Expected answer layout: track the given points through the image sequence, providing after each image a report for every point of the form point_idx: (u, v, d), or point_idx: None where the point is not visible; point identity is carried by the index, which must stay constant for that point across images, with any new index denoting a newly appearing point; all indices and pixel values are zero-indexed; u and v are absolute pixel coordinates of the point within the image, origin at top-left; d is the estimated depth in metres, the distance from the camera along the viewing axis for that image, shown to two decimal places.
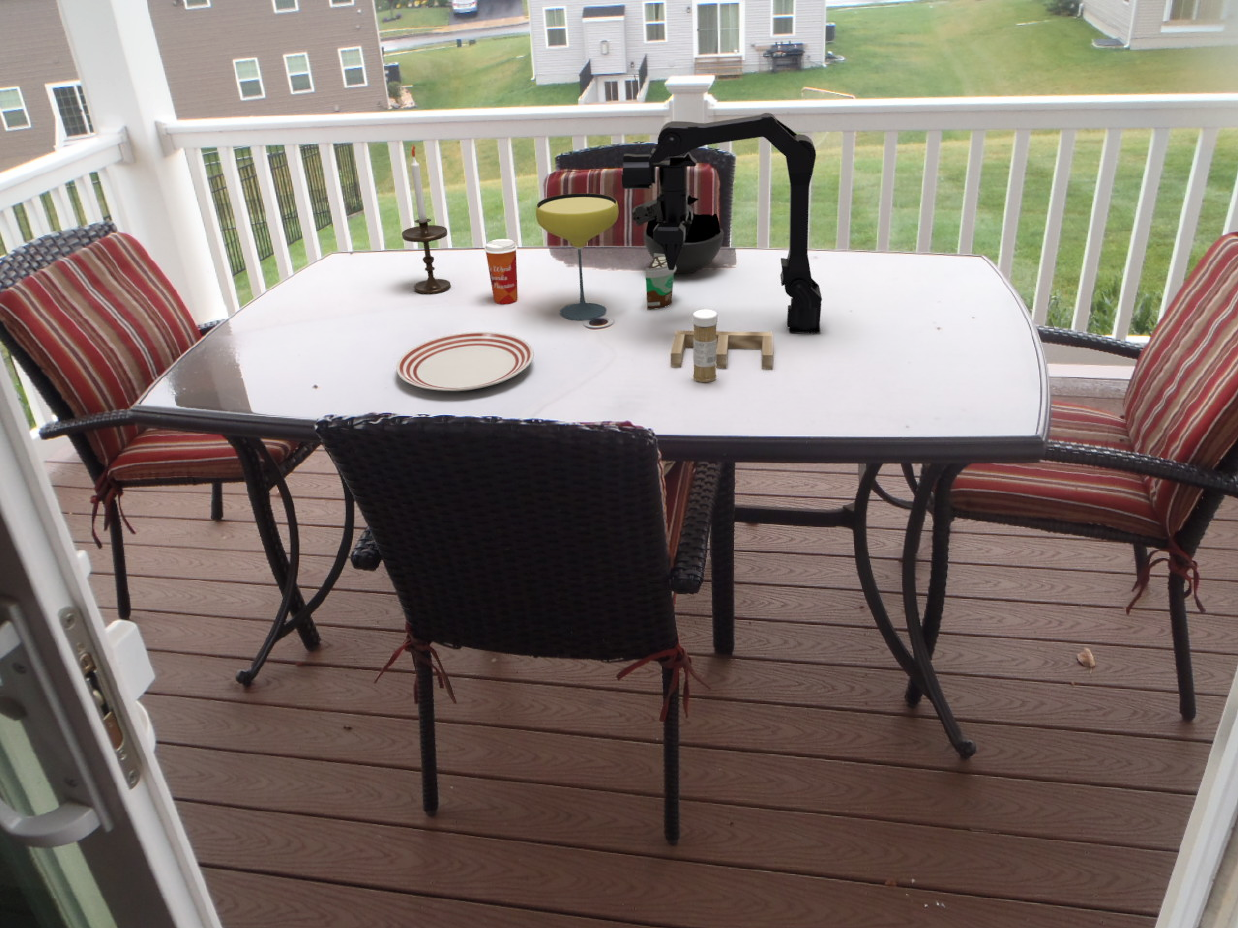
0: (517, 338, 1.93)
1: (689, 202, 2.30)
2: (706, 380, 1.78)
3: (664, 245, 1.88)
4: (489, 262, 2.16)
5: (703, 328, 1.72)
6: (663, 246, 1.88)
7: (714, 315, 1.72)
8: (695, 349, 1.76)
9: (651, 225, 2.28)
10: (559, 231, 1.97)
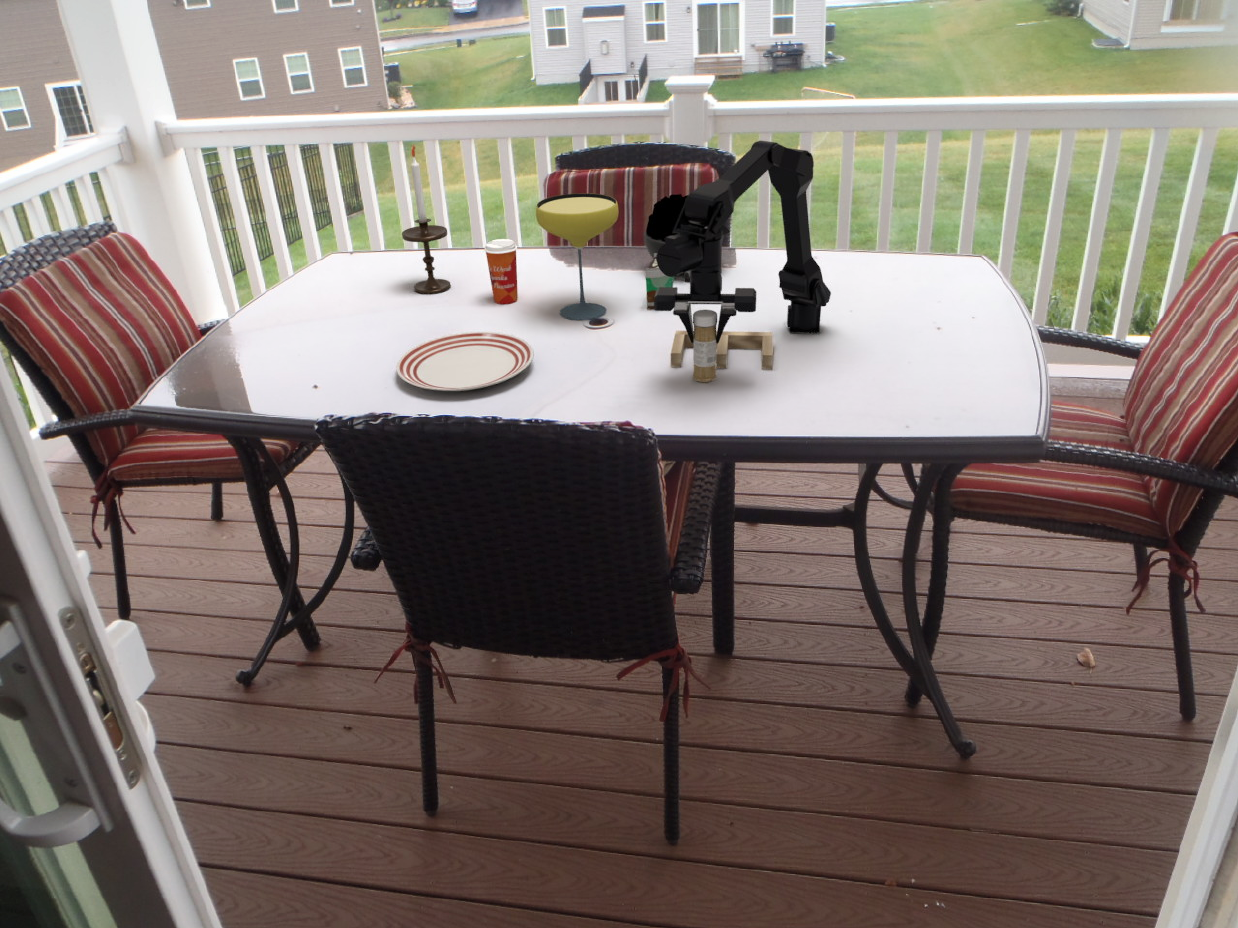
0: (517, 338, 1.93)
1: None
2: (706, 380, 1.78)
3: None
4: (489, 262, 2.16)
5: (703, 328, 1.72)
6: None
7: (714, 315, 1.72)
8: (695, 349, 1.76)
9: (651, 225, 2.28)
10: (559, 231, 1.97)
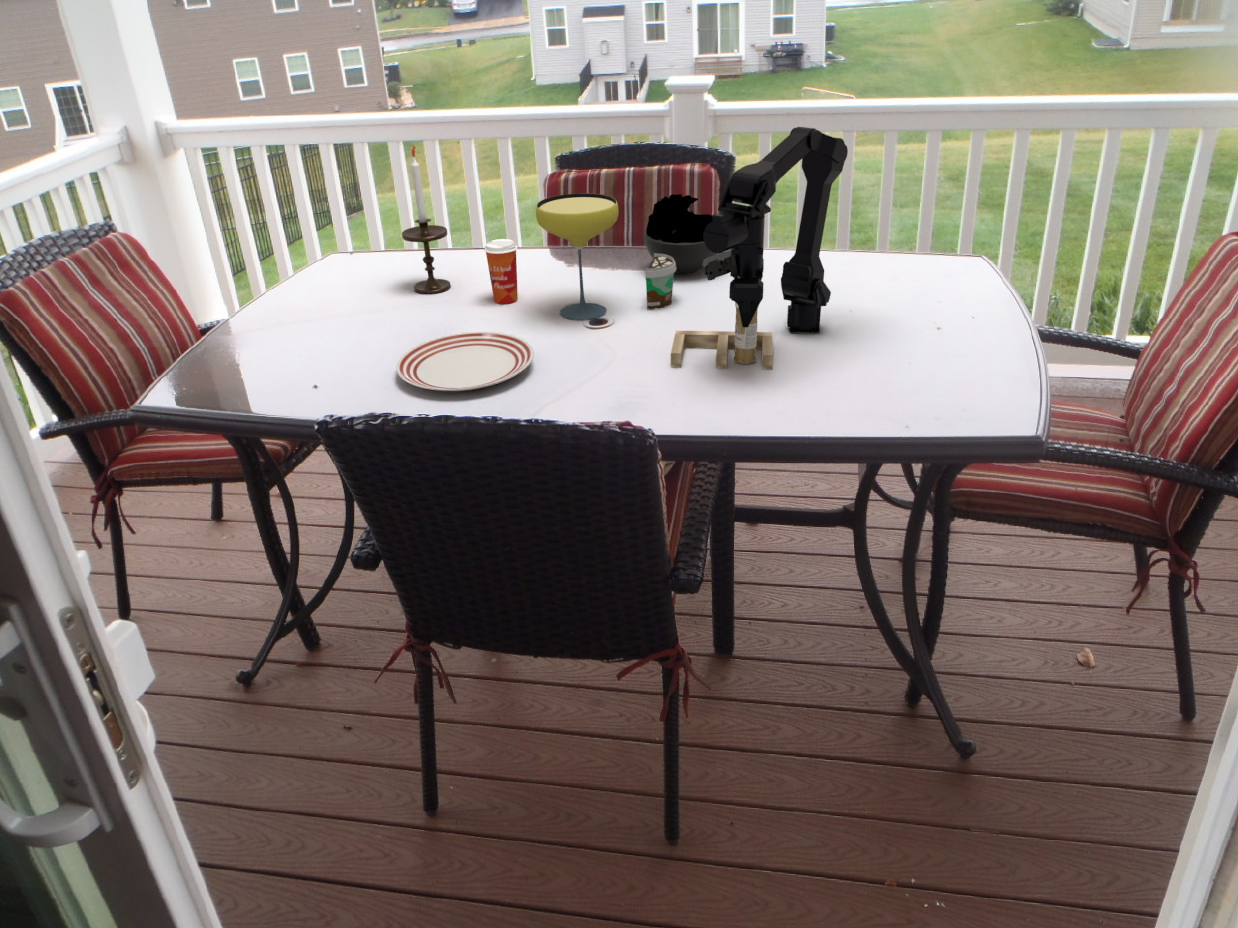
0: (517, 338, 1.93)
1: (689, 202, 2.30)
2: (755, 357, 1.86)
3: (739, 302, 1.74)
4: (489, 262, 2.16)
5: (757, 308, 1.80)
6: (739, 303, 1.74)
7: None
8: (752, 333, 1.82)
9: (651, 225, 2.28)
10: (559, 231, 1.97)
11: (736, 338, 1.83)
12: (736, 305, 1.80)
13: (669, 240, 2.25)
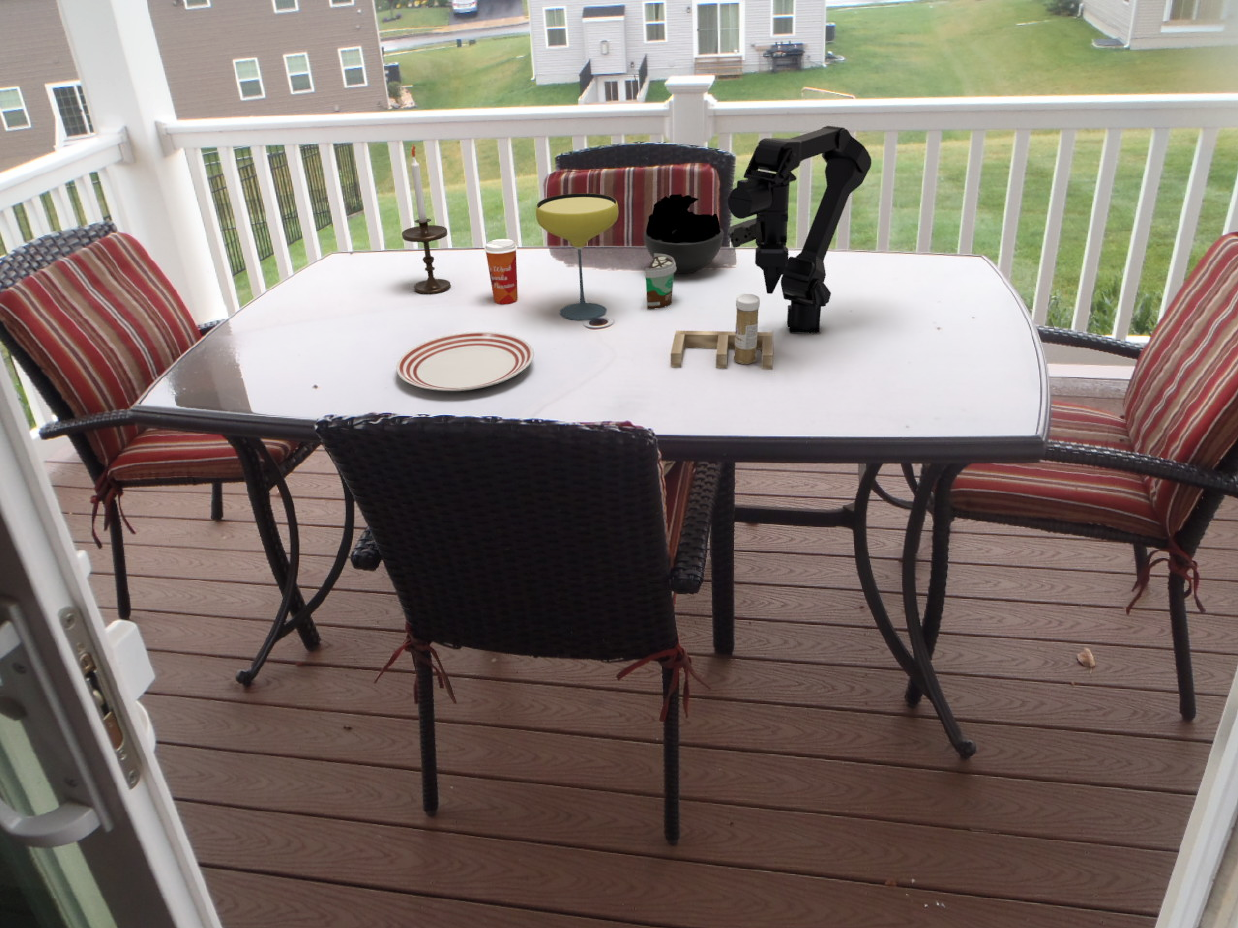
0: (517, 338, 1.93)
1: (689, 202, 2.30)
2: (755, 356, 1.86)
3: (764, 268, 1.78)
4: (489, 262, 2.16)
5: (757, 309, 1.80)
6: (764, 269, 1.78)
7: (752, 294, 1.81)
8: (752, 333, 1.81)
9: (651, 225, 2.28)
10: (559, 231, 1.97)
11: (736, 338, 1.83)
12: (737, 306, 1.79)
13: (669, 240, 2.25)
